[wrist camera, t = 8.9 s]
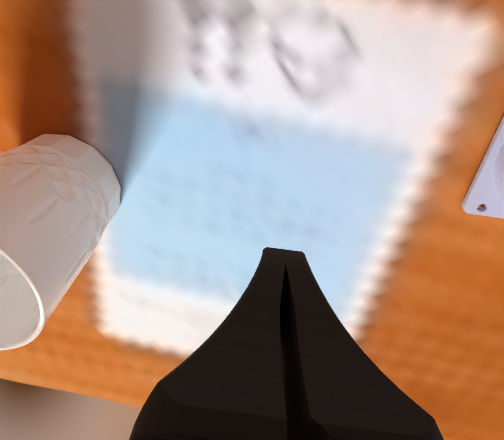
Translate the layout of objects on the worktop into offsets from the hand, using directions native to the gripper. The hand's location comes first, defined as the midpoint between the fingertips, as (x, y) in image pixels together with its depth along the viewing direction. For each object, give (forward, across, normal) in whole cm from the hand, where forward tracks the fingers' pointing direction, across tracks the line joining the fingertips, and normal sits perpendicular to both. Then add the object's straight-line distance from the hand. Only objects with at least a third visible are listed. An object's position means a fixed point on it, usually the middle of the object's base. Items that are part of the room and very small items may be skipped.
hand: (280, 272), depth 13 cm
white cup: (+11, +13, +4) cm, 18 cm away
